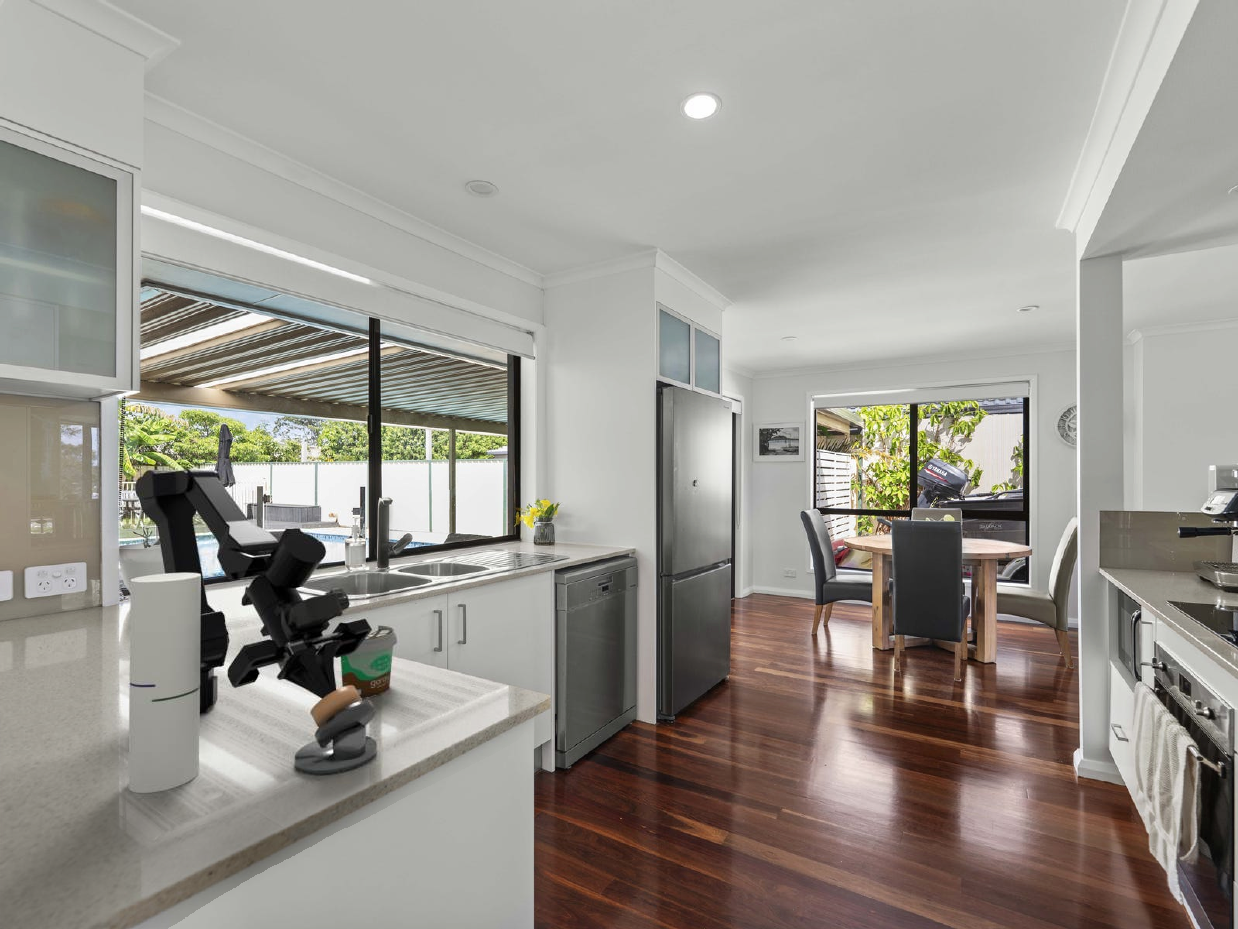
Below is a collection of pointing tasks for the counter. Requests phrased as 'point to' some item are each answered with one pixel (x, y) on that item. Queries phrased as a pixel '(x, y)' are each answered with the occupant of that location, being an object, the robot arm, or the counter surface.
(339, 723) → the button post
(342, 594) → the robot arm
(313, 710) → the button cap
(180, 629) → the cylindrical container
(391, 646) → the food container
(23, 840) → the counter surface
